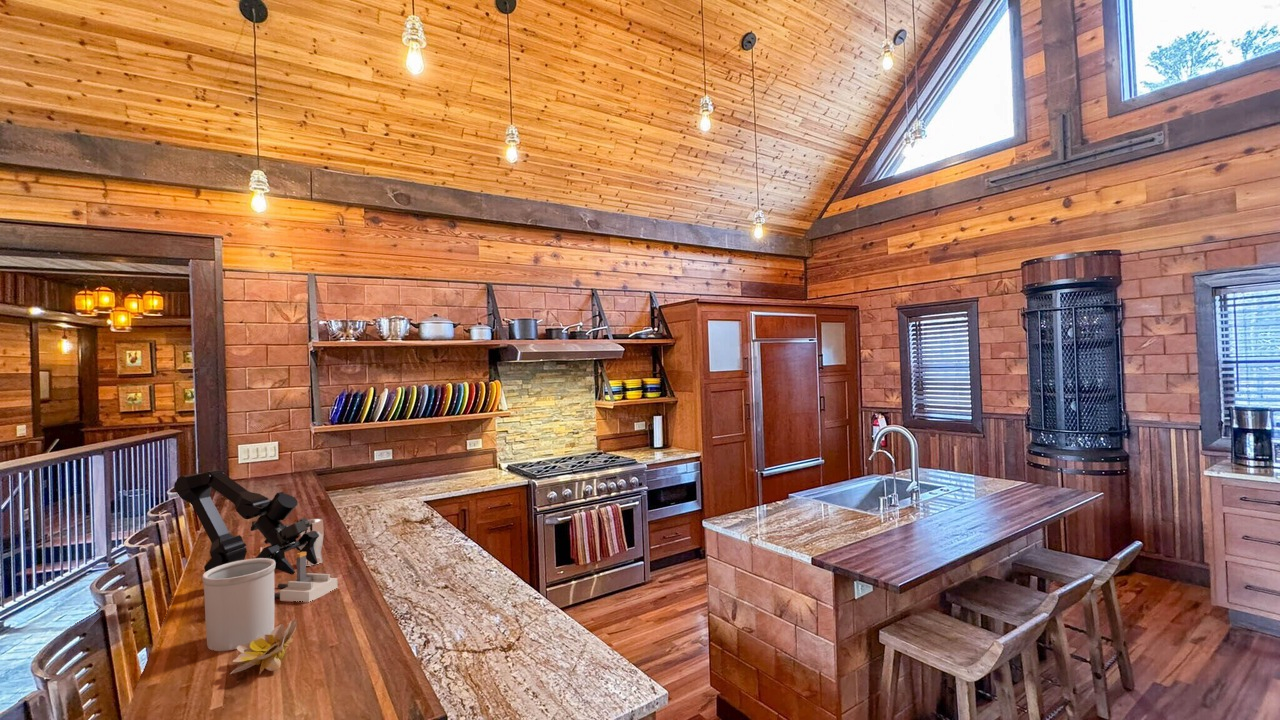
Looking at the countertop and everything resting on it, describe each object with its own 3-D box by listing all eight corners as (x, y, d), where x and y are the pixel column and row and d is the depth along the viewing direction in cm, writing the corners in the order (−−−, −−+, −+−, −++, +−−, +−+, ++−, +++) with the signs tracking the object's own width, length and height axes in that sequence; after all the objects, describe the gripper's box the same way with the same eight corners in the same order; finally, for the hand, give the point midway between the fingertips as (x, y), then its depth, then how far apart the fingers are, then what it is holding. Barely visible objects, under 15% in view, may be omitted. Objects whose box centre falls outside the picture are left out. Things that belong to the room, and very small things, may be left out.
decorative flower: (240, 646, 129) (251, 603, 130) (294, 647, 134) (305, 606, 134) (218, 683, 115) (230, 635, 116) (279, 683, 120) (291, 637, 120)
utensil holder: (238, 655, 129) (237, 579, 129) (186, 650, 132) (186, 577, 132) (290, 626, 143) (289, 559, 144) (242, 623, 146) (242, 556, 147)
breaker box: (253, 598, 163) (253, 582, 163) (284, 584, 174) (284, 569, 174) (309, 602, 159) (309, 585, 159) (337, 587, 170) (337, 572, 170)
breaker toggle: (290, 585, 164) (290, 555, 164) (304, 579, 169) (303, 550, 169) (299, 586, 163) (298, 555, 163) (312, 579, 168) (312, 550, 168)
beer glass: (316, 567, 190) (315, 523, 190) (296, 567, 190) (296, 523, 190) (328, 560, 197) (327, 518, 197) (309, 560, 197) (308, 518, 197)
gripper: (262, 520, 158) (295, 560, 156) (313, 505, 176) (344, 540, 174) (240, 546, 160) (272, 587, 157) (293, 529, 178) (323, 565, 175)
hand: (305, 568), depth 166 cm, fingers open, 8 cm apart
